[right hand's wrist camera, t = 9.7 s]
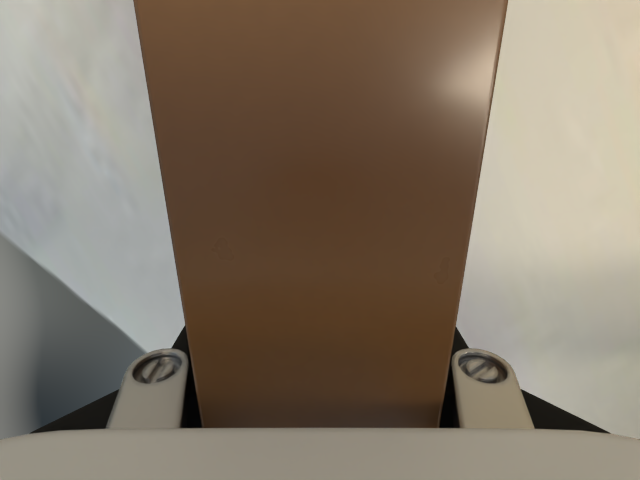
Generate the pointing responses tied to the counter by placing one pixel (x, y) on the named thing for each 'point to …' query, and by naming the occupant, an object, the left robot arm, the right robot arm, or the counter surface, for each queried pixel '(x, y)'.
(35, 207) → the counter surface
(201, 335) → the bar
